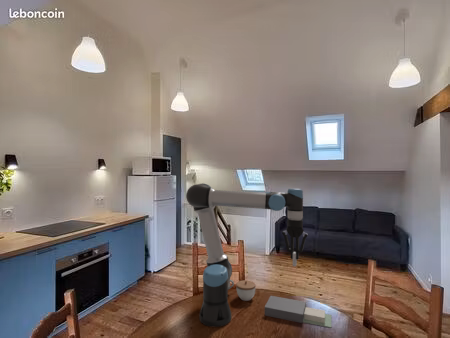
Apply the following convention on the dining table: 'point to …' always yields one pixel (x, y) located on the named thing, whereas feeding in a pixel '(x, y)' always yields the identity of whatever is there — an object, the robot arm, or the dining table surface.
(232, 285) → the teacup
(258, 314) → the dining table surface
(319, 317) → the tile
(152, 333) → the dining table surface
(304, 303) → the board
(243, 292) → the lidded jar
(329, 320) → the mat
